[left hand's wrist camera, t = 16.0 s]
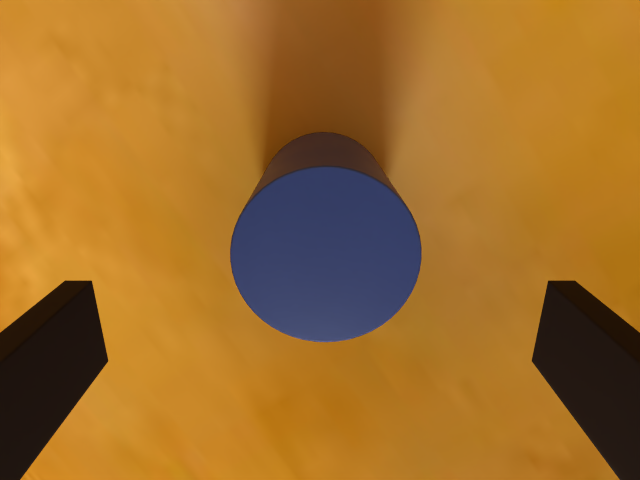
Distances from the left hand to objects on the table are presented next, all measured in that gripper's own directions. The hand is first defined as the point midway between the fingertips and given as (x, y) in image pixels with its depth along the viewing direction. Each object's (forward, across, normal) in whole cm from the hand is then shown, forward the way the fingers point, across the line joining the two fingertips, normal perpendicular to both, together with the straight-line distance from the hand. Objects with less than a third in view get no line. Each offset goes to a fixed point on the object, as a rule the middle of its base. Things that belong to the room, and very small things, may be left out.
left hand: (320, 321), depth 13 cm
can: (+16, 0, 0) cm, 16 cm away
